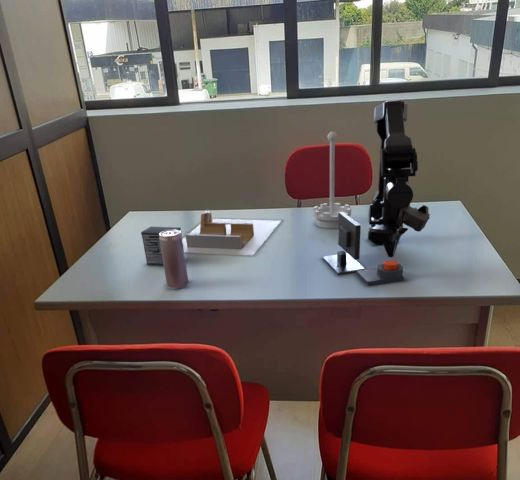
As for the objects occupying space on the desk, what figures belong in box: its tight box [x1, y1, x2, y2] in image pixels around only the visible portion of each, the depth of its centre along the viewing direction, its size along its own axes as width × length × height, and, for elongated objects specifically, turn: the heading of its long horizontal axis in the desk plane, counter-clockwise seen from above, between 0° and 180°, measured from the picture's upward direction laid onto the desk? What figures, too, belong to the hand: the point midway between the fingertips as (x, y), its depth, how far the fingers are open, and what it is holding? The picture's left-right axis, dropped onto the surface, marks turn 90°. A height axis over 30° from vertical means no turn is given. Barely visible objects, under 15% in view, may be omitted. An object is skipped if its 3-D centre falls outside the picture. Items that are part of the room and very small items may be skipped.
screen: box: [337, 212, 362, 261], centre depth 145 cm, size 3×13×10 cm, turn 12°
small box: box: [140, 226, 182, 267], centre depth 158 cm, size 11×6×10 cm, turn 71°
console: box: [355, 262, 405, 287], centre depth 139 cm, size 11×8×3 cm
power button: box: [383, 259, 399, 270], centre depth 138 cm, size 4×4×2 cm
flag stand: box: [312, 131, 352, 229], centre depth 175 cm, size 13×13×30 cm
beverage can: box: [159, 229, 189, 290], centre depth 141 cm, size 6×6×15 cm
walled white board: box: [182, 208, 282, 256], centre depth 177 cm, size 29×35×8 cm
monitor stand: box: [322, 250, 366, 276], centre depth 148 cm, size 8×13×4 cm, turn 12°
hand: (391, 256), depth 137 cm, fingers closed
